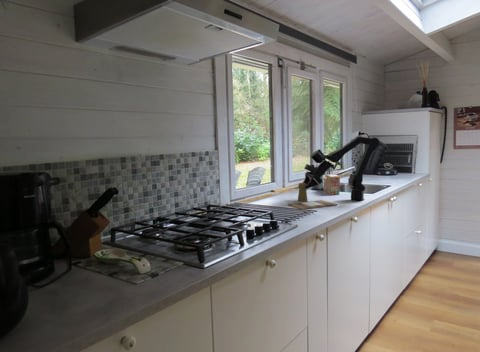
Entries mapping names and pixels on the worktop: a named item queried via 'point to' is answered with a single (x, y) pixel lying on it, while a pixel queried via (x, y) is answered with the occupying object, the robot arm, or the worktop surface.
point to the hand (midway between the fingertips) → (303, 187)
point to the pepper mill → (302, 193)
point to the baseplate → (312, 204)
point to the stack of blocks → (332, 184)
